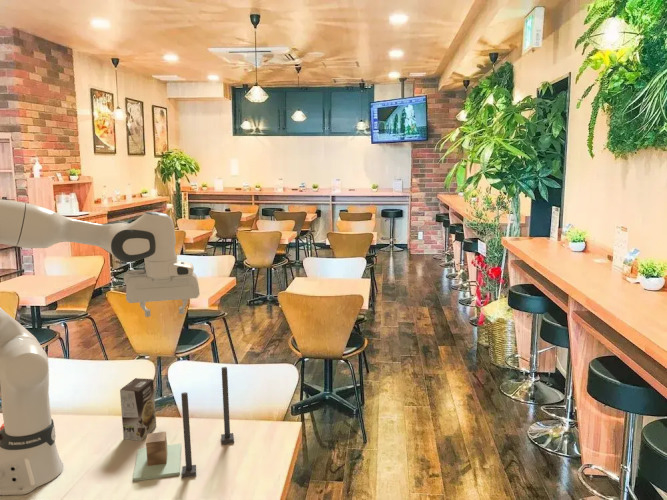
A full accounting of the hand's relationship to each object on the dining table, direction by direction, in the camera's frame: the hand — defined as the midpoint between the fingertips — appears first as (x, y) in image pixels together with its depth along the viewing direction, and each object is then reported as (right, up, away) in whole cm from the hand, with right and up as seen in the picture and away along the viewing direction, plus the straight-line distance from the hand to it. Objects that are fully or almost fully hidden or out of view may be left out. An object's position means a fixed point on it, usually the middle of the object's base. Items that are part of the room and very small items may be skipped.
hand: (165, 314), depth 162 cm
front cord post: (+10, -42, -10) cm, 44 cm away
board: (0, -41, -5) cm, 41 cm away
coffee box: (-11, -38, +11) cm, 41 cm away
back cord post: (+17, -39, +7) cm, 43 cm away
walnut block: (-1, -40, -5) cm, 41 cm away
